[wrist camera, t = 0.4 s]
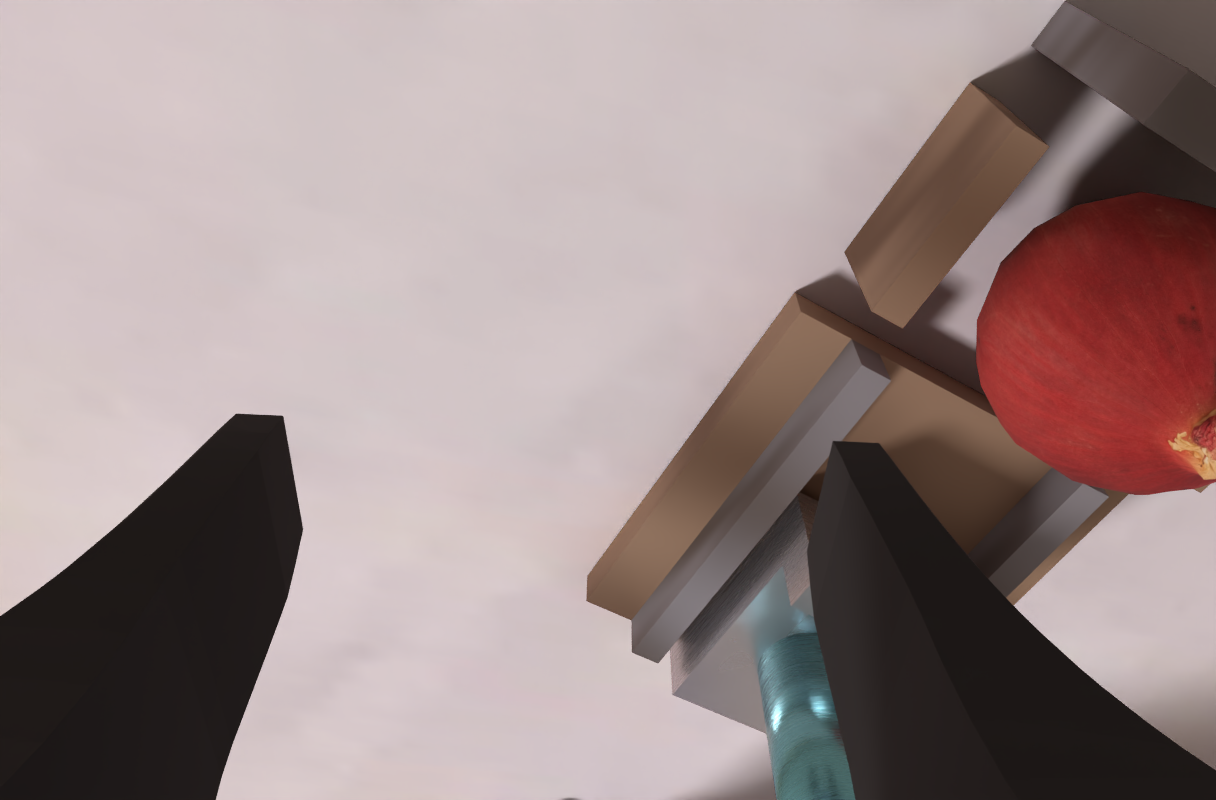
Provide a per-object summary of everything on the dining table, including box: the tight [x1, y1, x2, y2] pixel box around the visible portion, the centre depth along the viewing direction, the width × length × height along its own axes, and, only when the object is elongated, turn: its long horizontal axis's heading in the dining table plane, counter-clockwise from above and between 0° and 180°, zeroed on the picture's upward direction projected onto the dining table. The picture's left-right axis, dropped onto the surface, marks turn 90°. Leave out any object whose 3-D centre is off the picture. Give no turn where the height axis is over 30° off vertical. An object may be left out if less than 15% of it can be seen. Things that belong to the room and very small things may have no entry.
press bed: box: [587, 1, 1216, 663], centre depth 24 cm, size 18×10×5 cm, turn 151°
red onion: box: [976, 192, 1216, 495], centre depth 21 cm, size 6×6×8 cm
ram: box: [670, 492, 855, 800], centre depth 25 cm, size 6×5×7 cm
